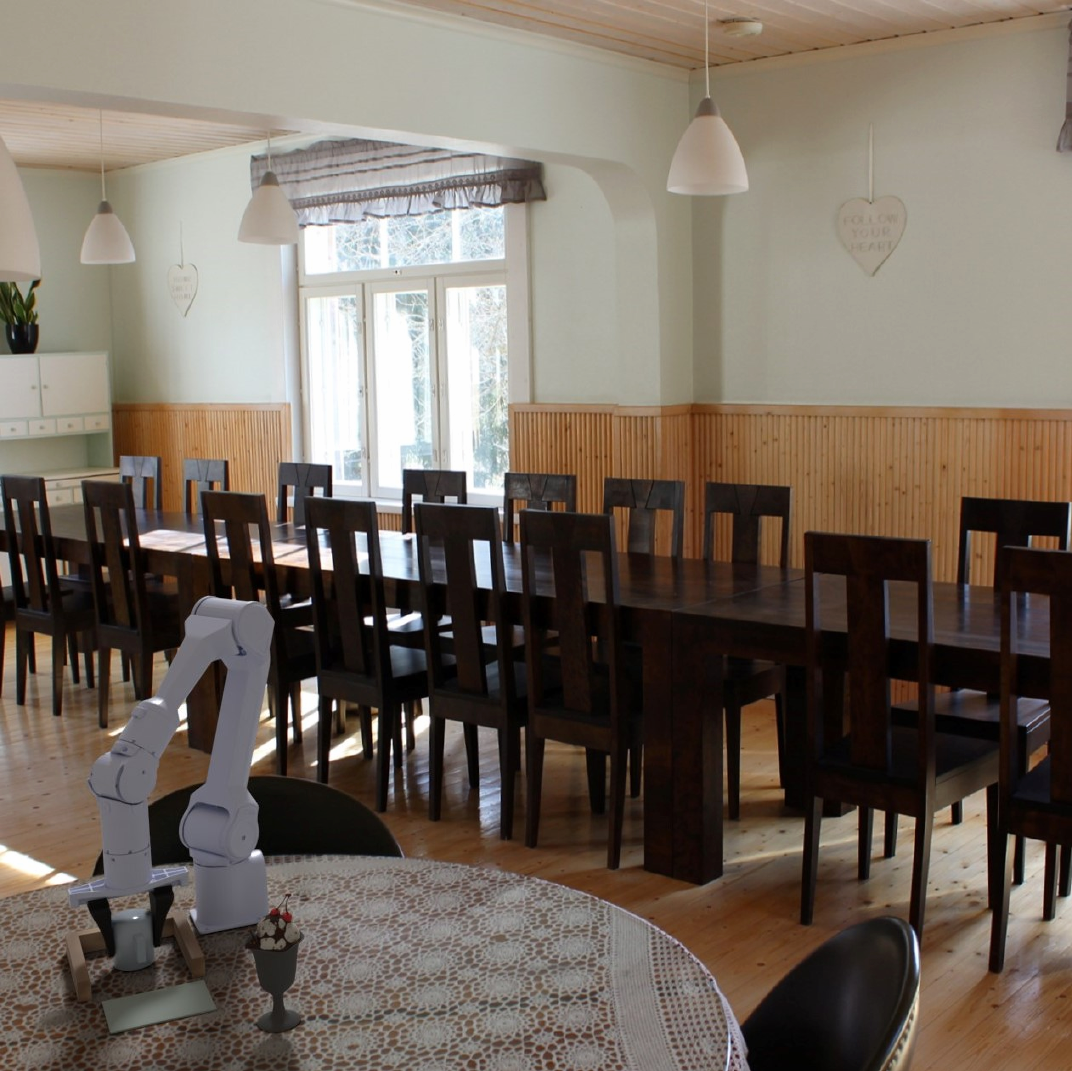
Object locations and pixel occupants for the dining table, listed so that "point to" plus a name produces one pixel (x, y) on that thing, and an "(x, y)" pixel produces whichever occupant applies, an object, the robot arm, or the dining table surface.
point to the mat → (157, 1006)
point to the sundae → (276, 964)
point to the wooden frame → (95, 941)
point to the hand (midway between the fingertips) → (133, 949)
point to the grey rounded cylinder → (133, 939)
